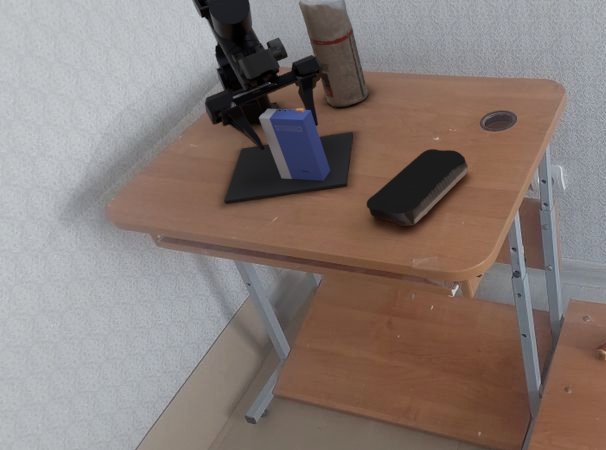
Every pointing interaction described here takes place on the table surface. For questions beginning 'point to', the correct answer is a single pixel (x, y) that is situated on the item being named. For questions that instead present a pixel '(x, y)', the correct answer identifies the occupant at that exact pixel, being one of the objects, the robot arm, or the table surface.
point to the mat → (268, 183)
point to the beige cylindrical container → (335, 50)
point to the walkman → (295, 144)
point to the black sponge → (418, 187)
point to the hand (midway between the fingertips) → (290, 137)
